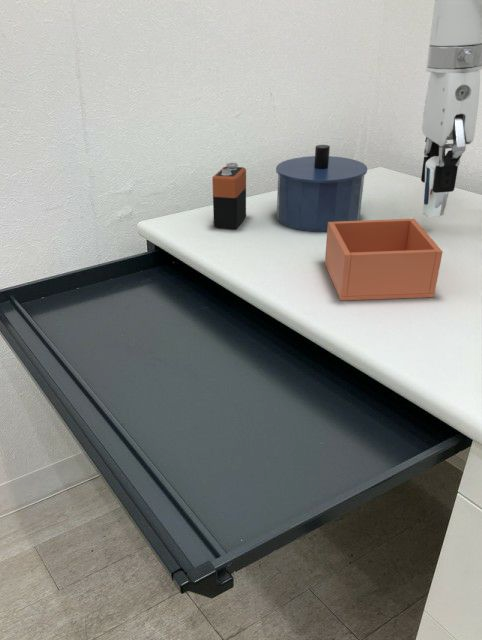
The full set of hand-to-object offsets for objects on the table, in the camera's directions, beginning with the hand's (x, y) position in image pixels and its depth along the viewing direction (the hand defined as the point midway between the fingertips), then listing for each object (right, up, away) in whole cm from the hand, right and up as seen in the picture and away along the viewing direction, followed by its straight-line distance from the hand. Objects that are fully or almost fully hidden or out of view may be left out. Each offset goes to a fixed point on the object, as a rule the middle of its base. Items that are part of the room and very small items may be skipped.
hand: (437, 185), depth 95 cm
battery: (-32, -3, +13) cm, 35 cm away
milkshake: (0, -4, +3) cm, 5 cm away
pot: (-16, -2, +13) cm, 21 cm away
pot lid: (-17, +5, +9) cm, 20 cm away
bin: (-12, -17, -9) cm, 23 cm away
